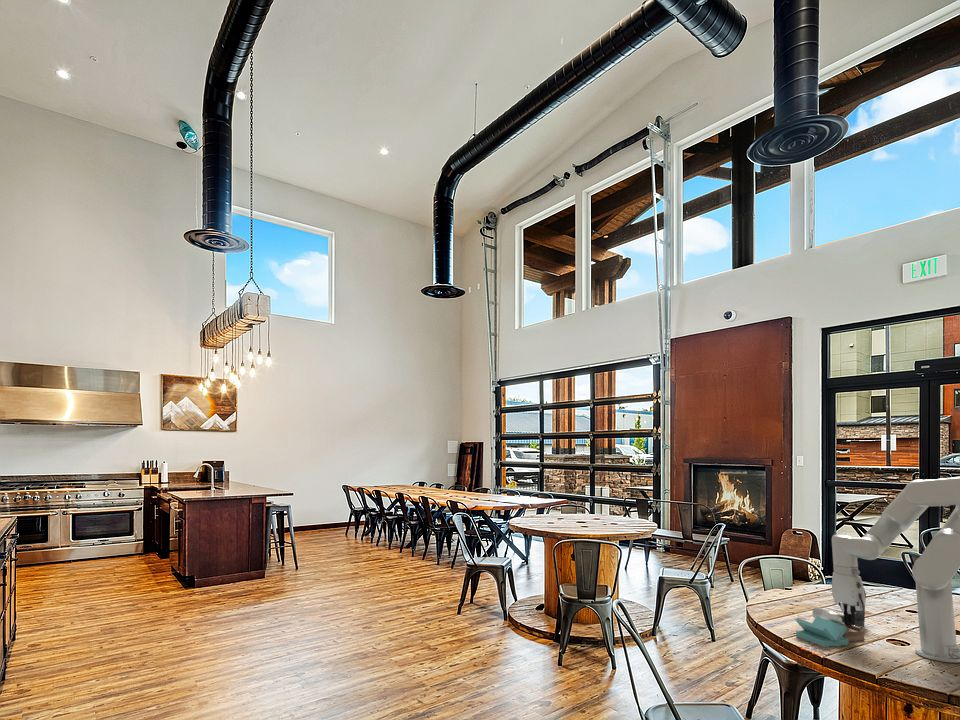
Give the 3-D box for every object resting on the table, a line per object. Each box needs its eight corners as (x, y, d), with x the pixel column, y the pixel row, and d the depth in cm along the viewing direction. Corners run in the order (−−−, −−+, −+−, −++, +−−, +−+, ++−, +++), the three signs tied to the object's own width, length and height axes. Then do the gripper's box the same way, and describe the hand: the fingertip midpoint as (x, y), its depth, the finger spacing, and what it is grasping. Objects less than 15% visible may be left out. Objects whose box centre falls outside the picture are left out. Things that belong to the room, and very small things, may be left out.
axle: (850, 628, 212) (849, 615, 213) (840, 629, 211) (840, 616, 212) (821, 619, 224) (821, 606, 224) (812, 619, 222) (812, 607, 223)
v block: (848, 645, 203) (847, 625, 204) (824, 647, 201) (822, 628, 201) (819, 634, 215) (818, 616, 216) (796, 636, 212) (795, 618, 213)
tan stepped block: (864, 640, 209) (863, 627, 210) (844, 642, 207) (843, 629, 207) (840, 631, 219) (839, 619, 219) (820, 633, 216) (819, 621, 217)
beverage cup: (847, 620, 232) (844, 567, 235) (869, 624, 227) (865, 570, 230) (844, 625, 226) (840, 570, 229) (867, 628, 222) (863, 573, 225)
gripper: (873, 574, 206) (877, 630, 204) (836, 565, 221) (840, 617, 218) (855, 575, 204) (860, 631, 202) (820, 566, 219) (823, 619, 216)
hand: (849, 624), depth 210 cm, fingers closed
